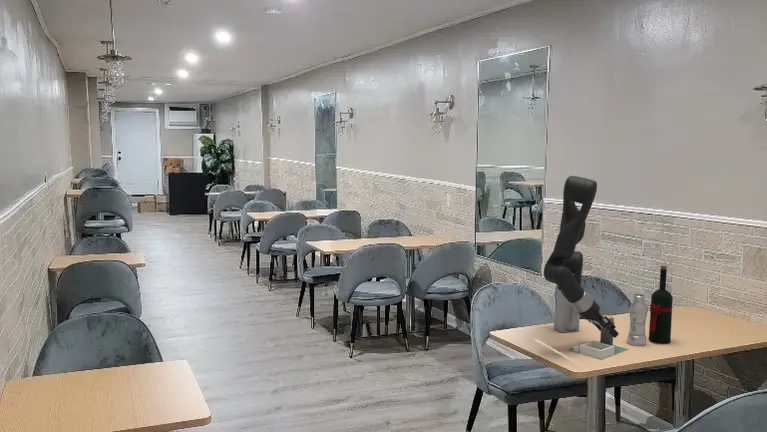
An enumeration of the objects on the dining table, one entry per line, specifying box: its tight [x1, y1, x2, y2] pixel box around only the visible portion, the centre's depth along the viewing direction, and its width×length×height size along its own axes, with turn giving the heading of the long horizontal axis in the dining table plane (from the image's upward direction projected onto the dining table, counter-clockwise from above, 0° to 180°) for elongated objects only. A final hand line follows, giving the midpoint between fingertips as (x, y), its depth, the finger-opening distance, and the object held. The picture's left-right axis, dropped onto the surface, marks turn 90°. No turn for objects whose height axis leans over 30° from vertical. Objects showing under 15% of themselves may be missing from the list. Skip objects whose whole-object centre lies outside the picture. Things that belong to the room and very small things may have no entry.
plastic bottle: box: [627, 293, 649, 347], centre depth 243 cm, size 6×7×20 cm
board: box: [567, 340, 630, 360], centre depth 236 cm, size 14×19×4 cm
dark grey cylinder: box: [599, 314, 616, 346], centre depth 239 cm, size 5×4×12 cm
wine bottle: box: [648, 265, 674, 345], centre depth 250 cm, size 8×10×30 cm
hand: (609, 332), depth 239 cm, fingers open, 8 cm apart
